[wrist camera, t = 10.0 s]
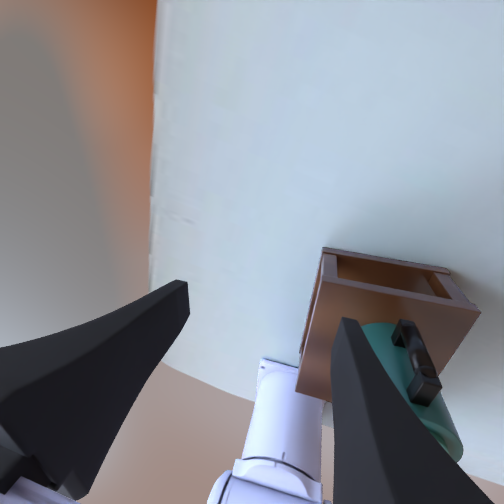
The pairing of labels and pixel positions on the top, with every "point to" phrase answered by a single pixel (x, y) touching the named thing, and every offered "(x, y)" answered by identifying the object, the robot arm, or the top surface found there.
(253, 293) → the top surface
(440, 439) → the kettle
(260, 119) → the top surface
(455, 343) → the stand
